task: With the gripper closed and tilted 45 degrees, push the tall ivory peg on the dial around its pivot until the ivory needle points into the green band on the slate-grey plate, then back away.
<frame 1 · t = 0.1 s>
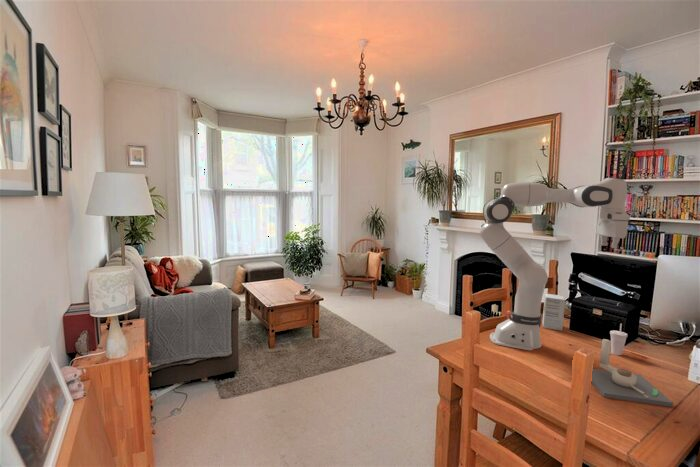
hand: (608, 246, 158), 48 cm above the table, tool pointing down, fingers open, 8 cm apart
supplement box: (552, 327, 194), on the table
dial rotor: (622, 364, 132), point 8 cm above the table, hinge at 0.0°
smoothie: (616, 354, 161), on the table
dial plate: (622, 387, 131), on the table
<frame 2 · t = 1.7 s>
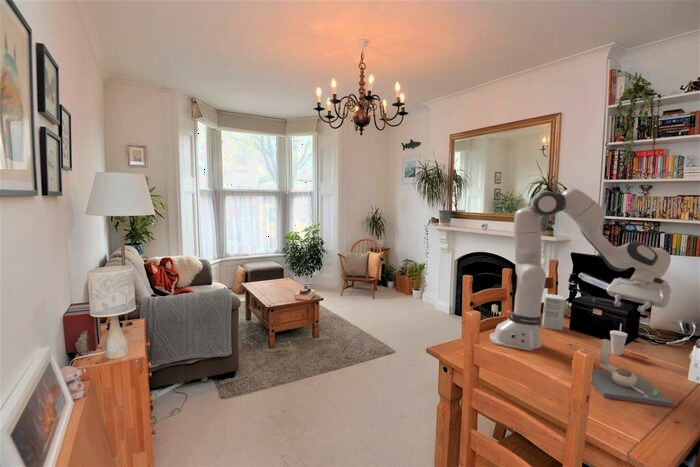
hand: (627, 308, 143), 26 cm above the table, tool tilted 45°, fingers open, 7 cm apart
nothing on the table moved.
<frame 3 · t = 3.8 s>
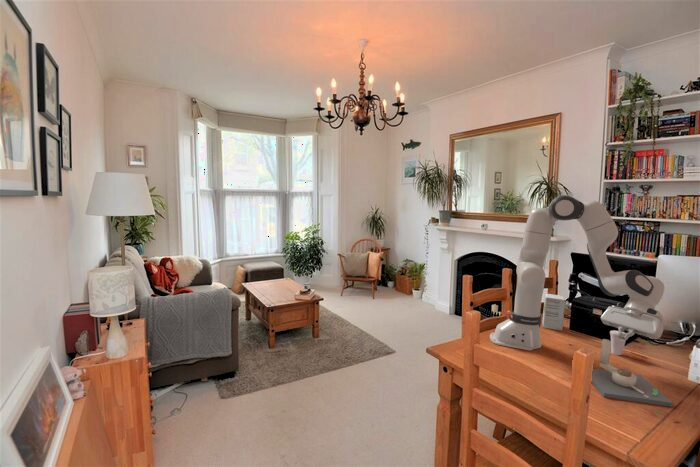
hand: (621, 338, 143), 13 cm above the table, tool tilted 45°, fingers closed
nothing on the table moved.
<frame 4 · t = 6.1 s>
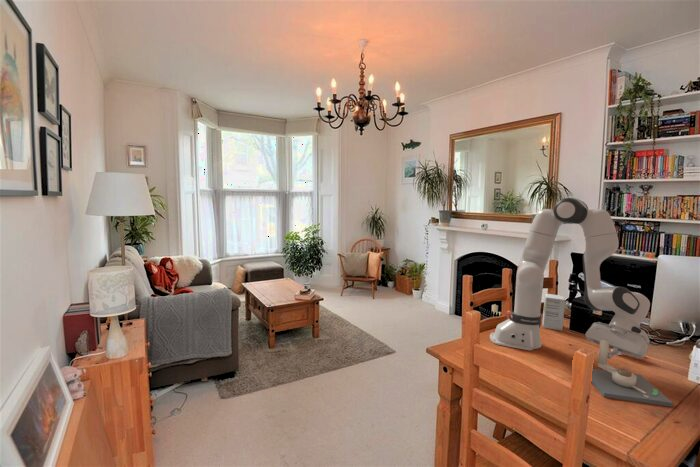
hand: (605, 356, 140), 7 cm above the table, tool tilted 45°, fingers closed, pressing on dial rotor
dial rotor: (622, 364, 132), point 8 cm above the table, hinge at 5.4°, touching gripper
everything else where it was.
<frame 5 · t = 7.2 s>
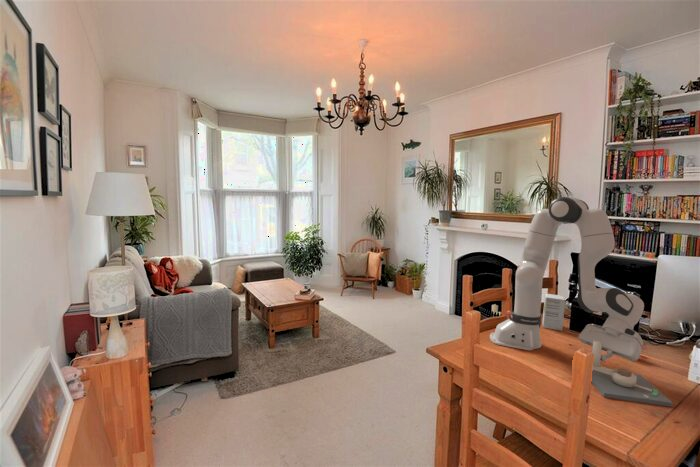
hand: (599, 359, 138), 7 cm above the table, tool tilted 45°, fingers closed, pressing on dial rotor
dial rotor: (621, 365, 131), point 8 cm above the table, hinge at 36.2°, touching gripper
everything else where it was.
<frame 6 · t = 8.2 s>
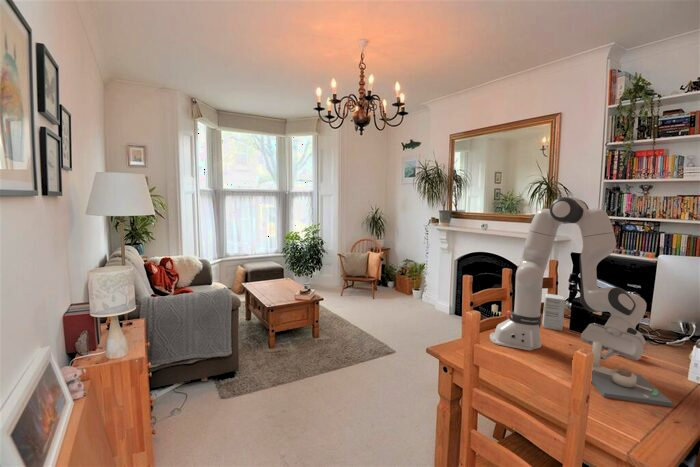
hand: (600, 358, 138), 7 cm above the table, tool tilted 45°, fingers closed
dial rotor: (621, 365, 131), point 8 cm above the table, hinge at 38.2°
everything else where it was.
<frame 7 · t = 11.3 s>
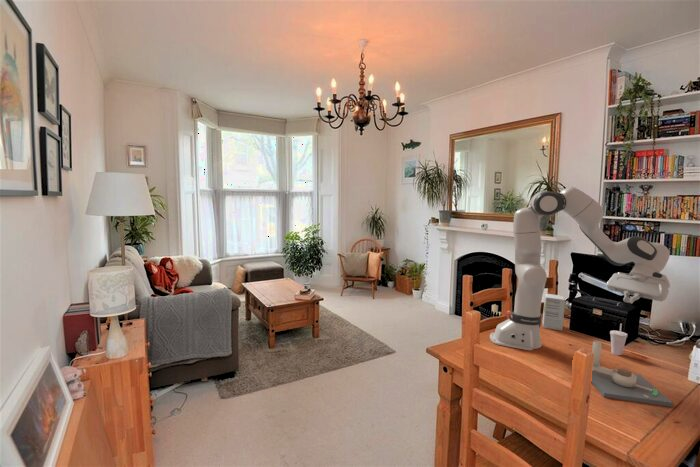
hand: (627, 301, 146), 27 cm above the table, tool tilted 45°, fingers closed
nothing on the table moved.
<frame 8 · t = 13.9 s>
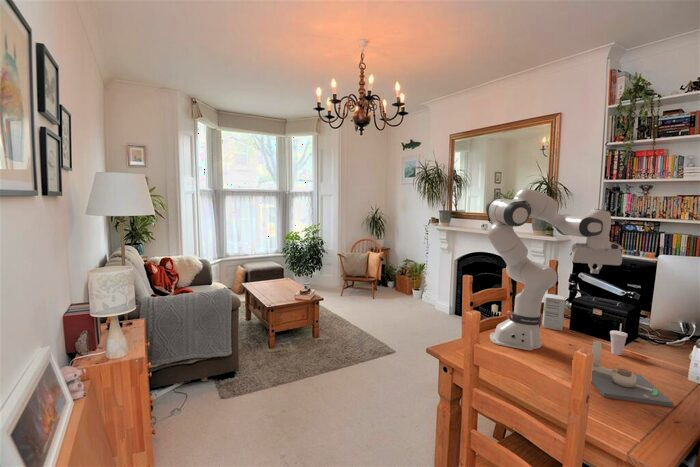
hand: (594, 273, 169), 34 cm above the table, tool pointing down, fingers closed
nothing on the table moved.
at the end: dial rotor at +38° (first picture: +0°) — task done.
